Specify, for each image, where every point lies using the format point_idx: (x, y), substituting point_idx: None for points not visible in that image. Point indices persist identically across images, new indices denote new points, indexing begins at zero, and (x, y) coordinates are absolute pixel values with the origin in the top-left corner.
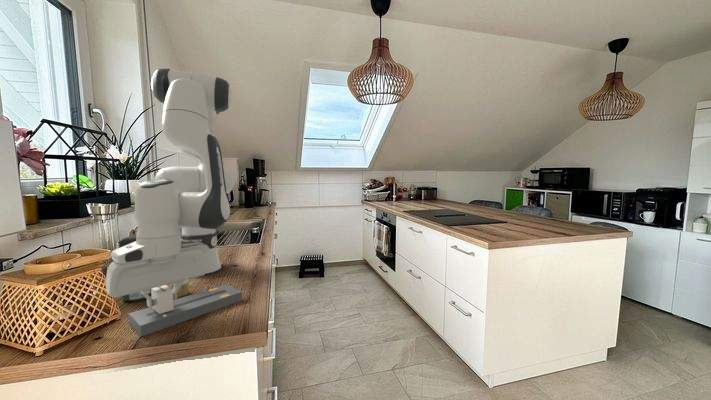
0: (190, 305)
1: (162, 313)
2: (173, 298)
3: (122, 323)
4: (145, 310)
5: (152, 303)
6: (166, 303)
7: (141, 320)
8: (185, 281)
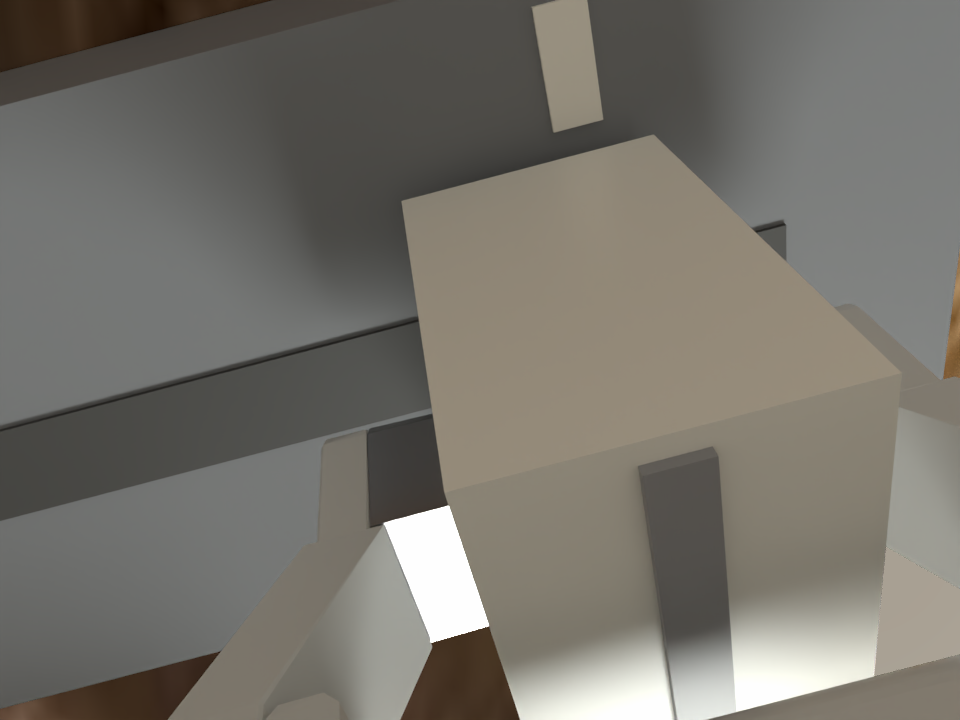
0: (91, 281)
1: None
2: (396, 436)
3: None
4: None
5: None
6: (560, 247)
7: (909, 104)
8: None
